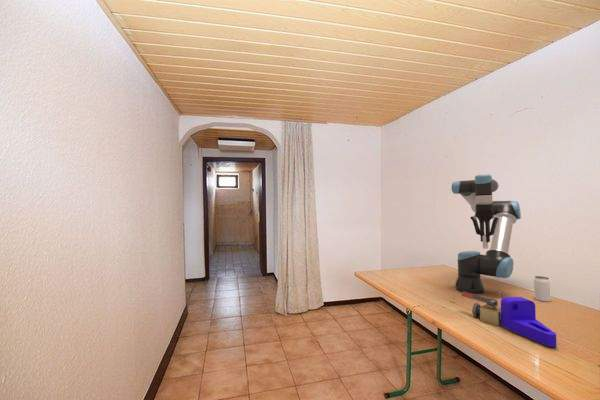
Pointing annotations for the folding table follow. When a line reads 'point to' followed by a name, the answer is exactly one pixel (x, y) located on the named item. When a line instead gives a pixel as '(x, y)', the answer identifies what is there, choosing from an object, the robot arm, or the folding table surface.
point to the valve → (487, 313)
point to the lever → (480, 298)
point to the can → (542, 288)
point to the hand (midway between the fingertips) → (485, 248)
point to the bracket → (525, 320)
